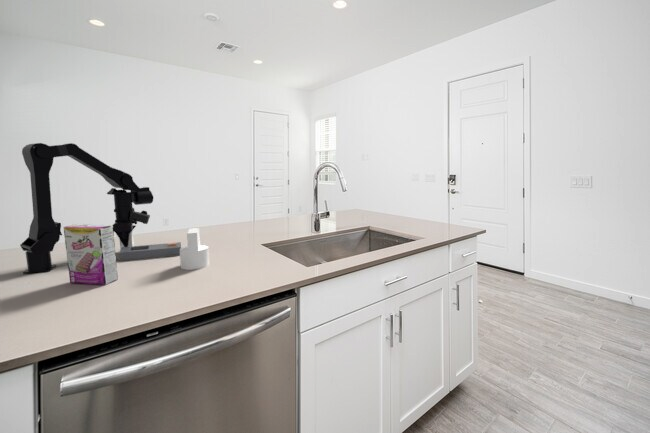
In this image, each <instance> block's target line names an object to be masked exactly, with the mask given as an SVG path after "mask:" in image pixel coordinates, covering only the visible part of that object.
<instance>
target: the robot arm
mask: <svg viewBox="0 0 650 433" xmlns="http://www.w3.org/2000/svg"><path fill="white" fill-rule="evenodd" d="M21 154H22V157H23V160H24V163H25V166H26V168H27V170H28V171H29V176H30V188H31V201H32V202H31V203H32V214H33V217H32V220H31V224H30V226H29V232H28V237H27V238H26V239H25V240H24V241H23V242H21V244H19V246H20V248H21V249H22V250H23V251H24V252H25V259H26V266H27V269H25V270H24V271H22V274H23V275H24V274H35V273H44V272H51V271H52V270H54V268H55V267H57V264H54V263H52V255H51V252H53V250H54V248H55V245H56V244H57V243H58V242H59V241H60V238H61V237H60V236H63V234H62V232H61V230H62V229H61V228H62V223H61V222H58V221H55V220H54V218H53V208H52V207H53V206H52V198H51V197H52V195H51V183H50V182H51V181H50V179H51V178H50V172H51V170H52V167H53V164H54V158H59V157H69V158H71V159H72V160H74V161H76V162H78V163H80V165H82V166H85V167H86V168H88V169H89V170H91V171H93V172H95V173H96V174H98V175H99V176H101V177H102V178H103V179H104V180H105V182H107V183H108V184H109V185H110V186H111V187H112V188H111V189H109V190H108V191H107V192H106V194H107V195H109V196H110V195H111V196H112V195H113V201H114V209H113V212H114V213H115V214H114V215H115V220H114V223H113V224H112V225H113V232H114V233H115V235H116V236H117V237H118V240H119V241H120V240H121V242H122V243H123V245H124V247H128V243H129V234H130V232H131V231H134V229H135V228H136V227H137V225H138V222H139V223H142V224H146V225H147V224H148V223H149V221H150V218H151V215H150V214H148V211H146V210H142V211H135V208H134V206H133V204H134V205H136V206H137V205H138V206H139V205H140V206H141V205H150V204H152V203H153V201H154V195H153V192H152V191H151V190H150V187H149V186H143V187H140V186H138V185H137V184H136V183H135V181H134V179H133V176H132V174H130V173H127V172H125V171H123V170H120V169H118V168H115V167H112V166H110V165H108V164H107V163H105V162H103V161H102V160H100V159H98V158H97V157H95V156H93V155H92V154H90V153H89V152H88V151H86V150H84V149H82V148H81V147H79V146H78V145H77V144H75V143H72V142H70V143H64V144H57V145H48V144H46V143H42V142H37V143H29V144H26V145H25V146H24V147H22V150H21Z"/></svg>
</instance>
